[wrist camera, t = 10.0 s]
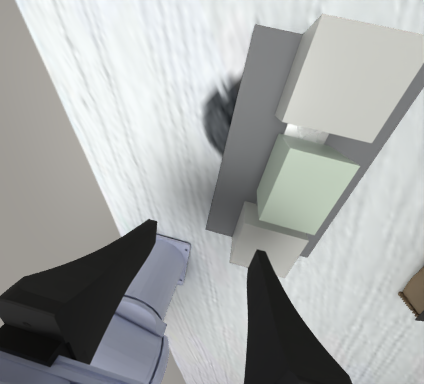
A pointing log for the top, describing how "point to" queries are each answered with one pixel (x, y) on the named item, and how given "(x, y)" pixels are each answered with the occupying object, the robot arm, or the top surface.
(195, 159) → the top surface
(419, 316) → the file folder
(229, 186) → the rail board
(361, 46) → the mounted modules
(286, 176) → the block
